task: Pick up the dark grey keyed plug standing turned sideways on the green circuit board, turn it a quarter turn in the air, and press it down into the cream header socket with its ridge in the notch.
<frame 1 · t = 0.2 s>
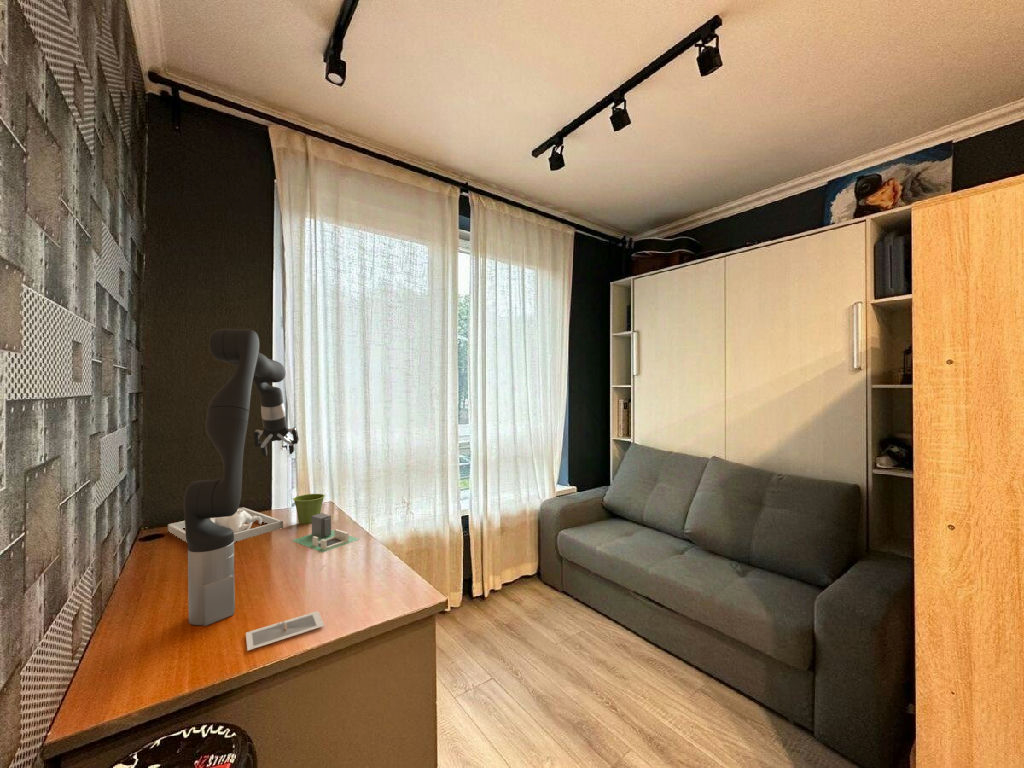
hand: (278, 454, 156), 31 cm above the table, tool tilted 20°, fingers open, 8 cm apart
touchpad: (285, 634, 94), on the table
light grey flat tray: (225, 530, 163), on the table
plug: (321, 534, 152), point 1 cm above the table, touching board
plant pot: (309, 524, 168), on the table
board: (325, 543, 147), on the table
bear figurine: (229, 534, 159), resting in light grey flat tray
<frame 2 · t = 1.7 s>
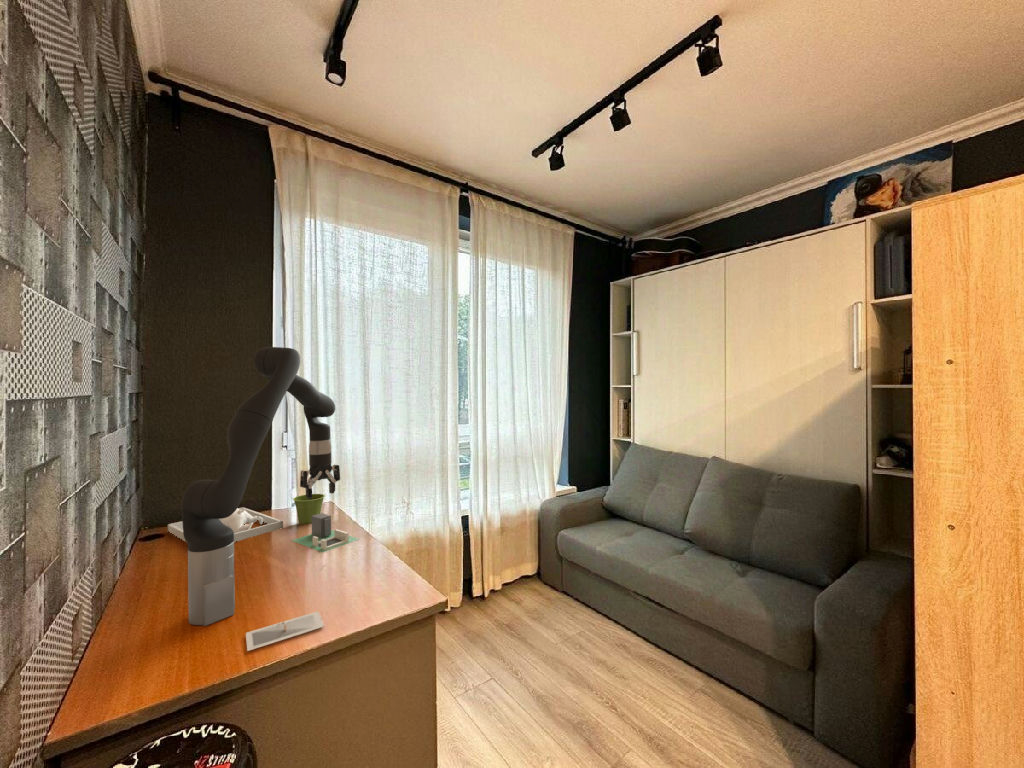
hand: (321, 495, 152), 16 cm above the table, tool pointing down, fingers open, 8 cm apart
nothing on the table moved.
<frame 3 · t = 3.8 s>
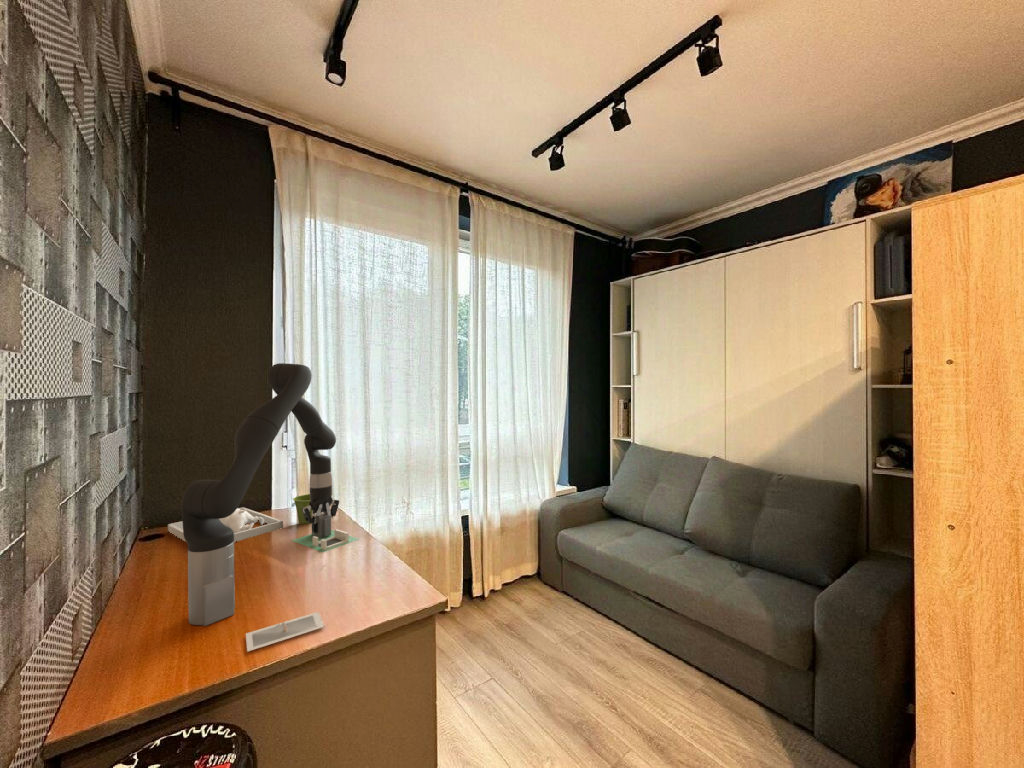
hand: (321, 530, 152), 3 cm above the table, tool pointing down, fingers closed on plug, 4 cm apart
plug: (321, 534, 152), point 2 cm above the table, touching board, gripper
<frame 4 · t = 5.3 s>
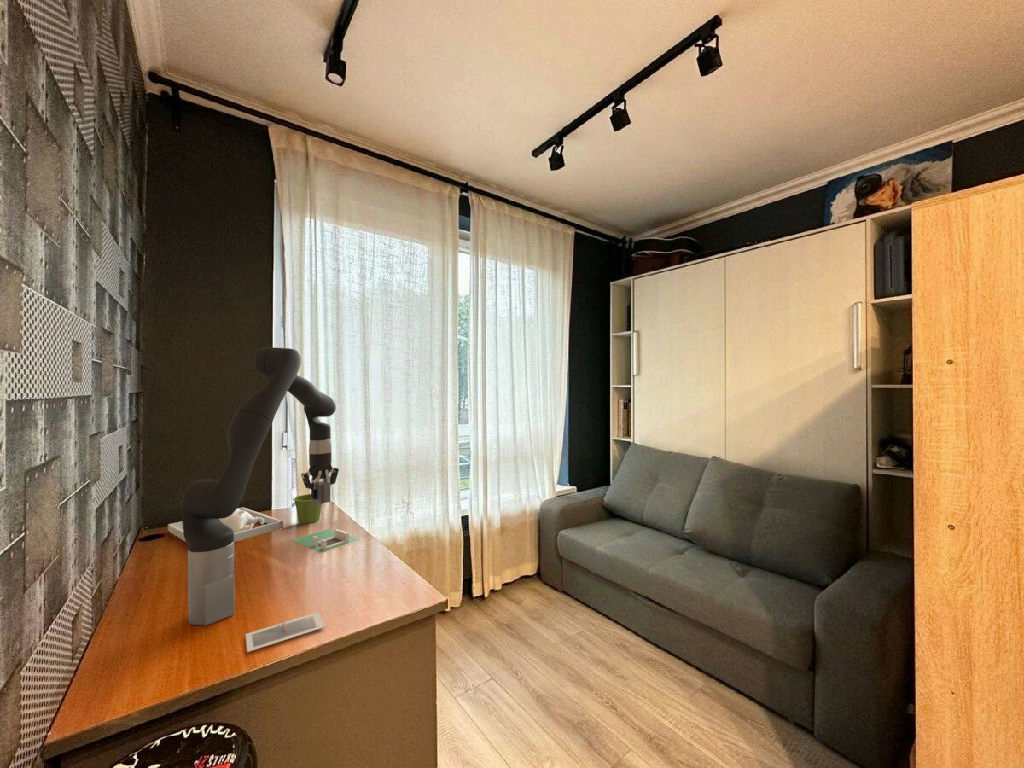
hand: (320, 497, 152), 15 cm above the table, tool pointing down, fingers closed on plug, 4 cm apart
plug: (320, 501, 152), point 14 cm above the table, touching gripper
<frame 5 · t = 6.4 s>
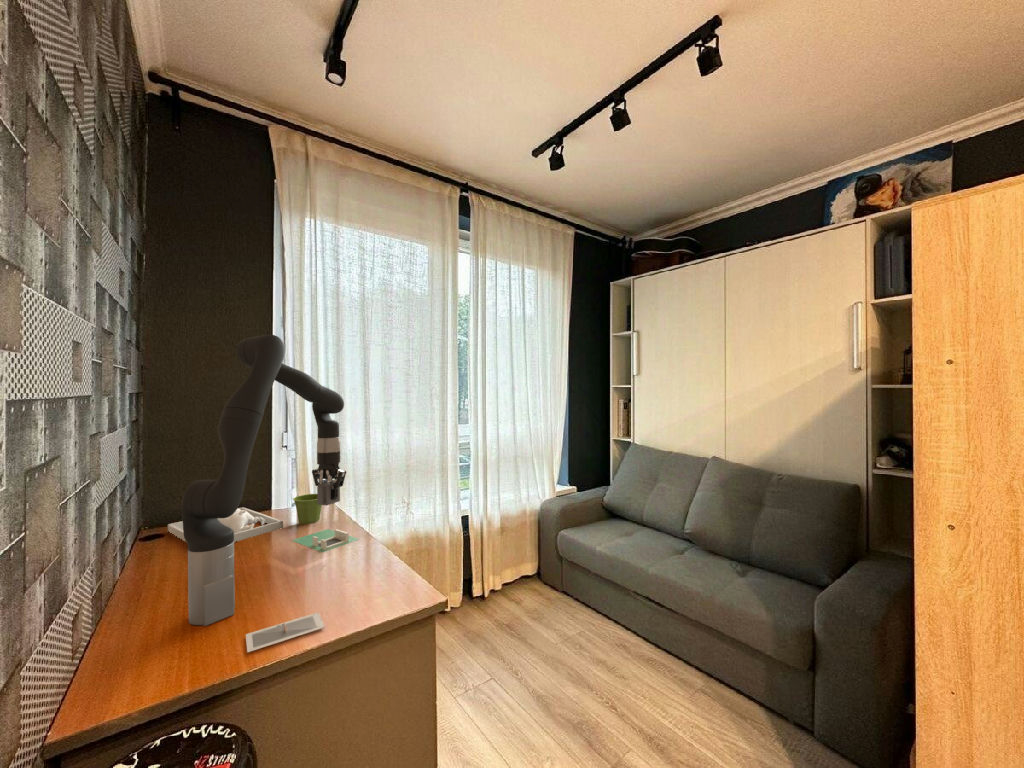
hand: (329, 498, 145), 17 cm above the table, tool pointing down, fingers closed on plug, 4 cm apart
plug: (329, 502, 145), point 15 cm above the table, touching gripper
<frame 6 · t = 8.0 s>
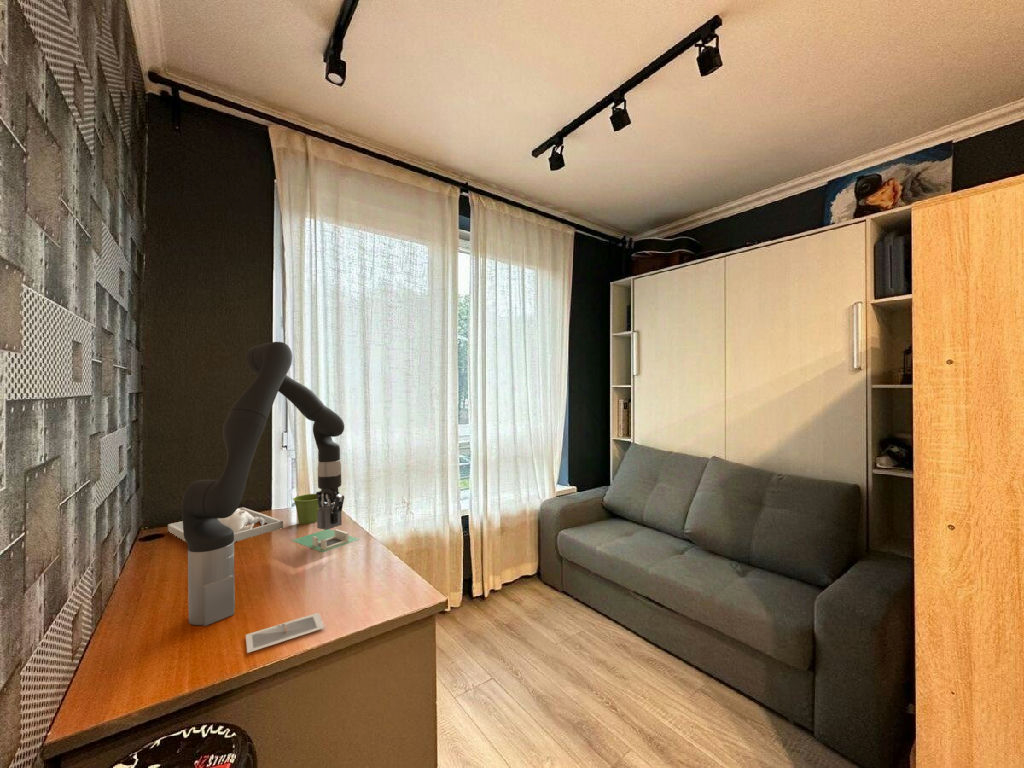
hand: (330, 522, 143), 9 cm above the table, tool pointing down, fingers closed on plug, 4 cm apart
plug: (330, 526, 143), point 7 cm above the table, touching gripper
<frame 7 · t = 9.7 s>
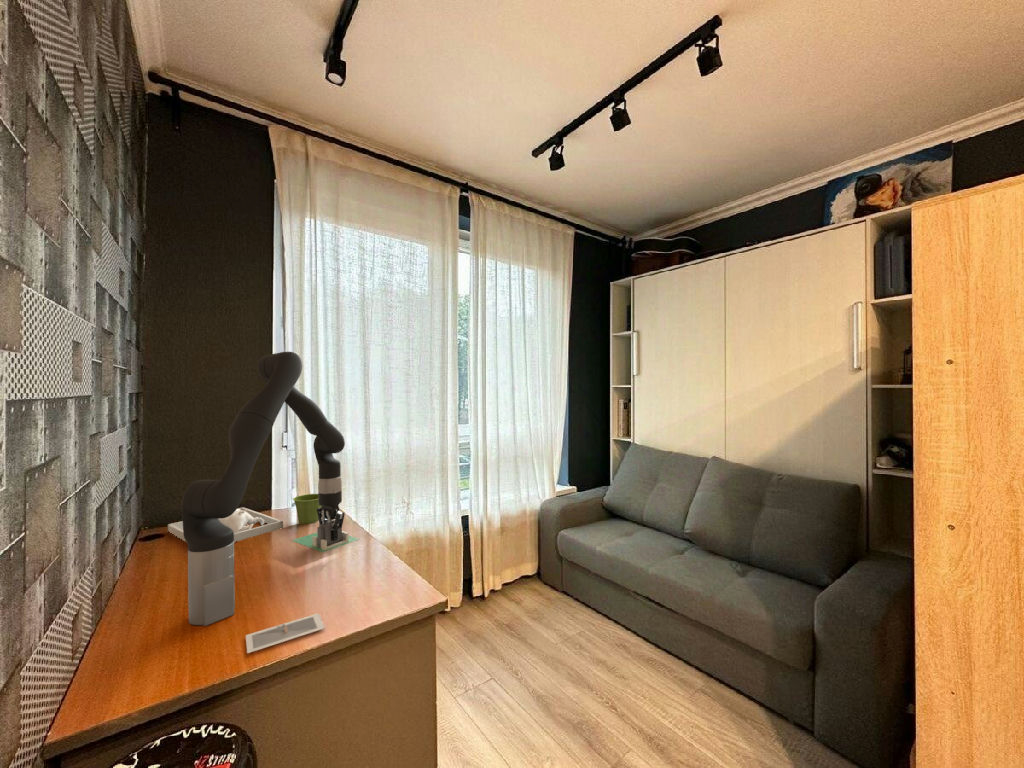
hand: (330, 538, 143), 3 cm above the table, tool pointing down, fingers closed on plug, 3 cm apart
plug: (330, 543, 143), point 2 cm above the table, touching board, gripper
when the fingers open (3 cm above the table, at t = 9.8 s): plug stays where it is, resting on board.
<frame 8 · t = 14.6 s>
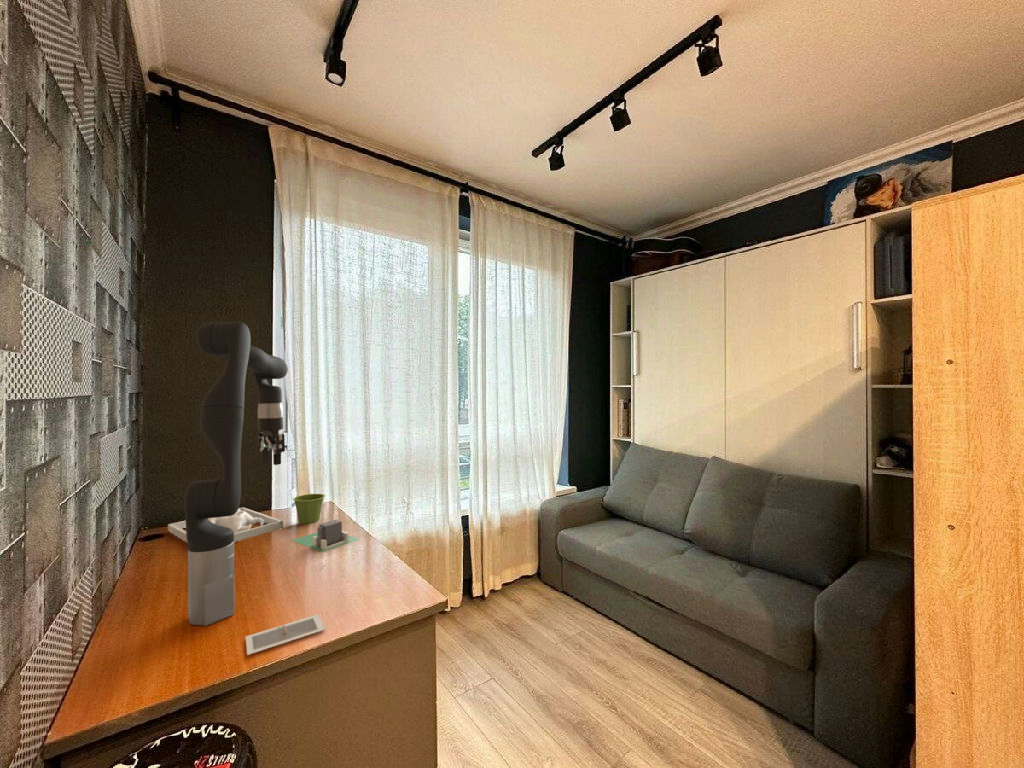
hand: (271, 463, 141), 30 cm above the table, tool pointing down, fingers open, 8 cm apart
plug: (330, 543, 143), point 2 cm above the table, touching board
at the end: plug 0.1 cm from the target spot on the board, point 1.6 cm above the board's base; plug tilted 0°; the gripper is holding nothing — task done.
